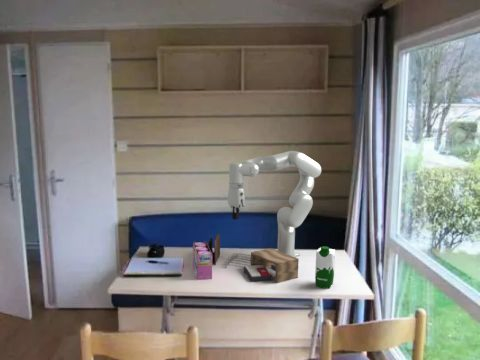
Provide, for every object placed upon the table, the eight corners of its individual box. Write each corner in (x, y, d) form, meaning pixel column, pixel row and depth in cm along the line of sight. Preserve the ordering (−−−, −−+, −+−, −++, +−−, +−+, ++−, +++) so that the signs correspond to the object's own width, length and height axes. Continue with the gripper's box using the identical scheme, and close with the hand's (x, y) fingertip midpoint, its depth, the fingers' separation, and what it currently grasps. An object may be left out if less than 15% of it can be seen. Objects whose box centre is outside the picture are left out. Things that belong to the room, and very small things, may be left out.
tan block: (270, 265, 258) (270, 248, 257) (297, 277, 240) (298, 258, 239) (250, 270, 250) (250, 252, 248) (277, 283, 232) (277, 263, 231)
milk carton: (313, 286, 229) (314, 247, 226) (317, 280, 237) (319, 242, 234) (330, 289, 225) (332, 250, 222) (335, 283, 233) (337, 245, 230)
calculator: (251, 276, 233) (243, 264, 247) (251, 284, 234) (243, 272, 248) (272, 274, 235) (263, 263, 250) (271, 282, 236) (263, 270, 250)
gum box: (192, 264, 258) (192, 241, 256) (206, 264, 260) (206, 240, 257) (197, 280, 235) (197, 254, 233) (212, 279, 236) (212, 253, 234)
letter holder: (220, 254, 278) (220, 231, 275) (215, 265, 258) (215, 240, 256) (203, 253, 278) (203, 230, 276) (197, 264, 259) (198, 240, 257)
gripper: (250, 187, 244) (249, 221, 247) (233, 183, 256) (233, 215, 259) (238, 188, 240) (238, 222, 242) (222, 184, 252) (222, 217, 254)
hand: (235, 219), depth 251 cm, fingers closed
